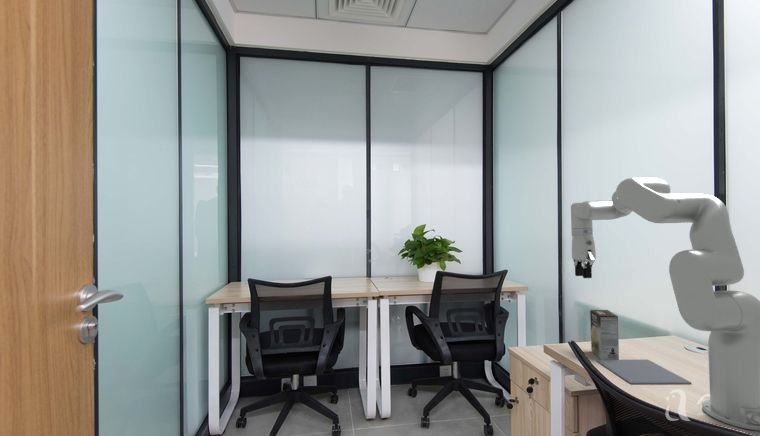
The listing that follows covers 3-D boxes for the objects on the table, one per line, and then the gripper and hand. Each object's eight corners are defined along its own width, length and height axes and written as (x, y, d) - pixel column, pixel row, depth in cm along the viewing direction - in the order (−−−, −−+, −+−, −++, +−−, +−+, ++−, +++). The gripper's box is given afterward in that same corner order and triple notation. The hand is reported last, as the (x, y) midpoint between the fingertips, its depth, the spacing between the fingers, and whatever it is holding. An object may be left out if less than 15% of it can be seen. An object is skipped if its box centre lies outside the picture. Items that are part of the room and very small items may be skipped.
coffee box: (590, 350, 134) (589, 309, 134) (608, 351, 133) (607, 309, 133) (600, 360, 125) (599, 315, 125) (620, 361, 124) (618, 315, 124)
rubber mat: (691, 384, 106) (691, 382, 106) (630, 384, 106) (630, 382, 106) (647, 360, 124) (647, 359, 124) (596, 361, 124) (596, 359, 124)
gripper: (603, 232, 134) (605, 280, 134) (580, 232, 151) (581, 273, 151) (584, 233, 134) (585, 280, 134) (562, 232, 151) (563, 274, 151)
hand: (583, 276), depth 142 cm, fingers open, 5 cm apart
